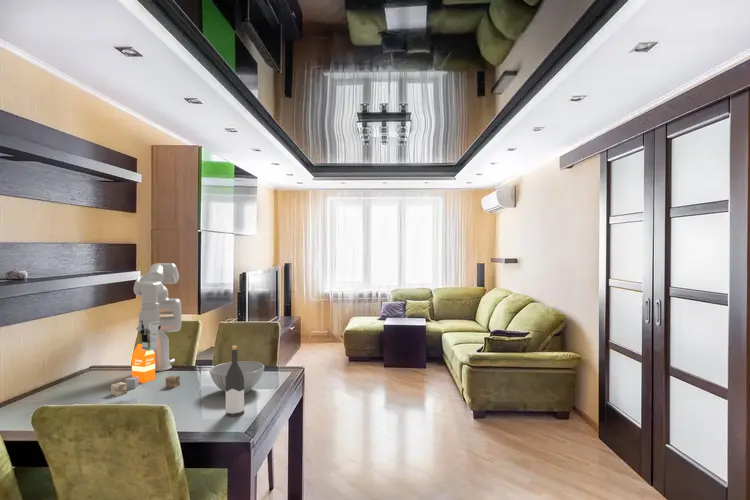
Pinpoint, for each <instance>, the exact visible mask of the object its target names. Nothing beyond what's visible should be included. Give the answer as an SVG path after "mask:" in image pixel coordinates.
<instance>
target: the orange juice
mask: <svg viewBox="0 0 750 500" xmlns="http://www.w3.org/2000/svg"><path fill="white" fill-rule="evenodd" d="M131 377H139V383H142V384H144V383H147V382H150V381H153V380H155V379H156V371H155V352H154V351H153V350H151V351H146V350H142V343H137V345H136V347H135V349H134V351H133V352H132V355H131Z"/></svg>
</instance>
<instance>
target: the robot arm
mask: <svg viewBox="0 0 750 500" xmlns="http://www.w3.org/2000/svg"><path fill="white" fill-rule="evenodd" d="M179 280H180V274H179V270H178V267H177V265H176V264H175V263H172V262H161V263H160V262H158V263H157V262H156V263H154V264H152V265H150V267H149V270H148V272H147V273H145V274H143V275H140V276H139V277H137V278H136V280H135V282H134V285H133V292H134V294H135V295H136V296H139V297H141V309H140V311H139V314H138V326H137V327H136V331H138V333H140V335H141V343H142V342H145V343H146V342H147V335H146V333H147V329H148V324H149V323H151V322H158V349H155V350H153V351H154V352H155V372H163V371H168V370H170V369H171V368H172V367H173V365H172V363H175V361H176V360H175V358H172V359H170V339H169V336H168V335H167V334H166V333H174V332H175V333H176V332H179V331H180V330H181V329H182V302H181V300H180V299H179V298H169V289H168V288H167V287H166V286H165V285H172V284H173V285H174V284H177V283H179V282H178V281H179ZM161 315H169V316H161ZM171 315H172V316H171ZM144 330H145V331H144Z"/></svg>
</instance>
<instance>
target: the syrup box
mask: <svg viewBox="0 0 750 500" xmlns="http://www.w3.org/2000/svg"><path fill="white" fill-rule="evenodd" d="M144 331H145V330H144ZM146 335H147V342H146V343H145V342H142V341H141V344H142V350H146V351H151V350H155V349H158V322H151V323H149V324H148V329H147V333H146Z"/></svg>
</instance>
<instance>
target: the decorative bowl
mask: <svg viewBox="0 0 750 500" xmlns="http://www.w3.org/2000/svg"><path fill="white" fill-rule="evenodd" d="M237 363H238V365H239V367H240V369H241V371H242V374H243V377H244V395H245V394H247V393H249V392H250V390H251V389H252V388H254V387H255V386H256V385H257V383H258V382H259V381H260V379H261V378H262V376H263V373H264V371H265V365H264V364H263V363H261V362H259V361H251V360H250V361H249V360H241V361H240V360H239V361H238V360H237ZM231 364H232V361H230V362H229V361H228V362H224V363H220V364H217V365H214V366H212V367H211V368H210V369H209V374H210V378H211V379H212V382H213V383H214V385H216V387H217V388H218V389H220V390H222V391H223V392H224V394H226V375H227V372H228V370H229V368H230V366H231Z"/></svg>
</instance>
